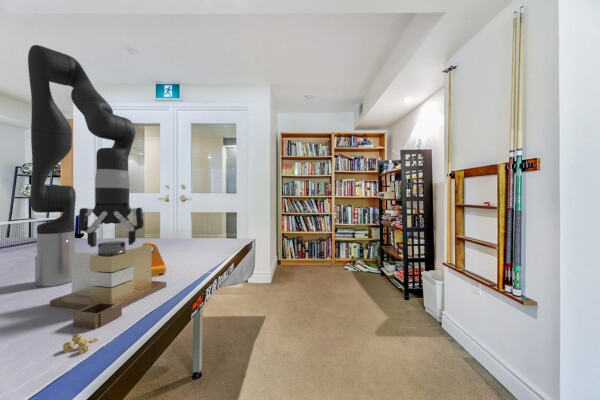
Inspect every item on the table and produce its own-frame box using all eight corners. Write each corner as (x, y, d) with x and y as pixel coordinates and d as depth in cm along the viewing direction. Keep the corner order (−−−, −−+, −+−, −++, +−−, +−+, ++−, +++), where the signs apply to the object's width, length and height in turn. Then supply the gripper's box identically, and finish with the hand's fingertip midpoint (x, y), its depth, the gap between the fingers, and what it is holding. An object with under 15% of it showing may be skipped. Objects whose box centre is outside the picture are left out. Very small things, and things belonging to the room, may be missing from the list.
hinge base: (13, 318, 59) (13, 261, 59) (115, 282, 85) (115, 242, 85) (96, 329, 55) (96, 267, 55) (176, 287, 81) (176, 245, 80)
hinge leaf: (133, 292, 71) (133, 252, 71) (111, 301, 65) (111, 258, 64) (86, 287, 74) (86, 249, 74) (60, 296, 68) (60, 255, 68)
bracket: (132, 279, 88) (132, 246, 88) (132, 274, 94) (132, 243, 94) (166, 274, 94) (166, 243, 94) (164, 270, 100) (164, 240, 100)
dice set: (84, 357, 46) (84, 346, 46) (54, 358, 46) (55, 348, 46) (103, 341, 51) (103, 332, 51) (76, 342, 51) (76, 333, 51)
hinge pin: (92, 298, 66) (92, 244, 66) (113, 290, 72) (113, 240, 72) (111, 300, 65) (111, 245, 65) (130, 291, 71) (130, 241, 71)
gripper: (73, 185, 62) (73, 250, 62) (140, 187, 68) (140, 246, 68) (85, 186, 69) (85, 244, 69) (145, 188, 75) (145, 241, 75)
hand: (112, 245), depth 68 cm, fingers open, 8 cm apart
